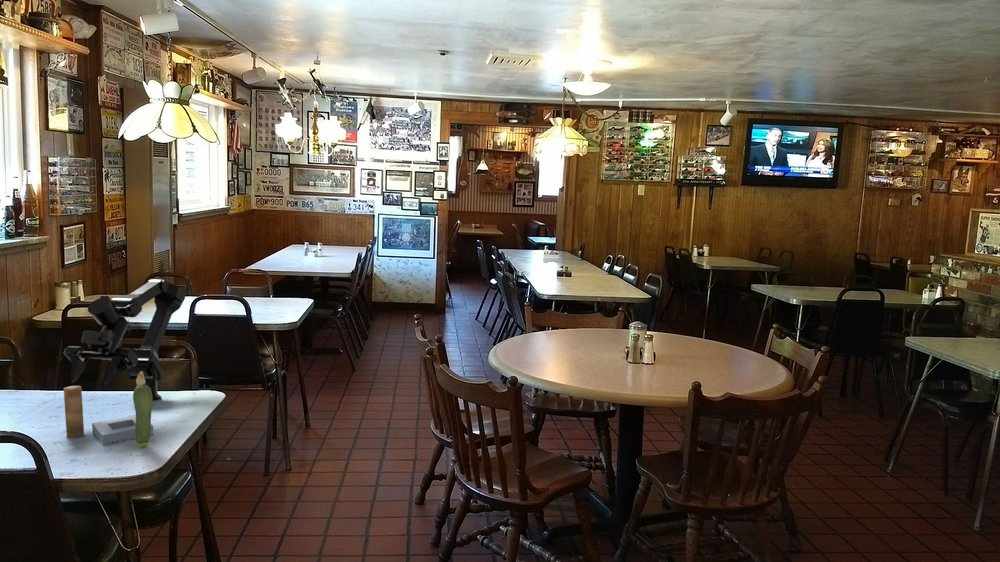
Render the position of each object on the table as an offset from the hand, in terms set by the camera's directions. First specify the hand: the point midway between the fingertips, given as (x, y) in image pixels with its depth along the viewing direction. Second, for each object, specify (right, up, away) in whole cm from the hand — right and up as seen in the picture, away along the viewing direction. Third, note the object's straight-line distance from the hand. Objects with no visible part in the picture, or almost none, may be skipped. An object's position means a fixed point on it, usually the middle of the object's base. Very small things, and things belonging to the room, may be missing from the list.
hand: (88, 382), depth 193 cm
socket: (+11, -13, -3) cm, 17 cm away
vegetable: (+21, -15, -12) cm, 29 cm away
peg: (-1, -13, -5) cm, 14 cm away
